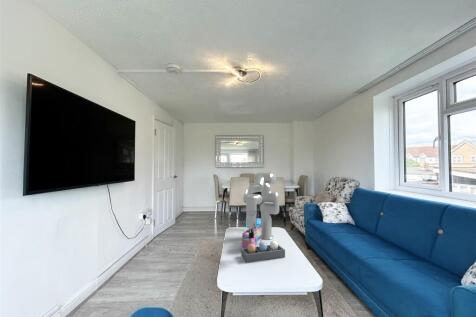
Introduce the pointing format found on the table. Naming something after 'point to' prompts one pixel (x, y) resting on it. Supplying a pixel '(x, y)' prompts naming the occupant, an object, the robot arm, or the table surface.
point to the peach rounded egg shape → (251, 248)
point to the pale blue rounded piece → (263, 247)
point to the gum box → (247, 240)
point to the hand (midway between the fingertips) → (251, 237)
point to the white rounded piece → (273, 245)
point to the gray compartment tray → (262, 254)
